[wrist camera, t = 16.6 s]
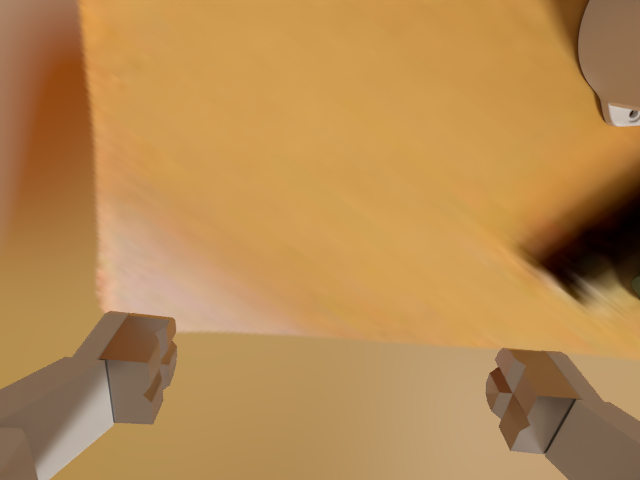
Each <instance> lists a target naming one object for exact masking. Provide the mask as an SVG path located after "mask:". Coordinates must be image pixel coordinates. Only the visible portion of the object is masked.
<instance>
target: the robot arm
mask: <svg viewBox="0 0 640 480" xmlns="http://www.w3.org/2000/svg"><path fill="white" fill-rule="evenodd" d="M578 54H579V61H580V66H581V69H582V72H583V74H584V76H585V78H586V80H587V82H588V83H589V85H590V86H591V87H592V88H593V89H594V91H595V92H596V93H597V95H598V96H599V98H600V100H601V106H602V112H603V116H604V119H605V121H606V123H607V124H608V125H611V126H618V127H623V126H636V125H640V0H589V3H588V5H587V7H586V10H585V12H584V15H583V18H582V22H581V26H580V31H579V39H578ZM632 110H633V114H632V115H631V116H630V117H629V114H630V112H631V111H632ZM175 333H176V323H175V320H174V318H171V317H162V316H154V315H145V314H136V313H125V312H115V311H110V312H107V313H106V314H104V316H103V317H102V318H101V320H100V321H99V322H98V324H97V325H96V326H95V328H94V329H93V330H92V332H91V333H90V334H89V335H88V337H87V338H86V339H85V341H84V342H83V344H82V345H81V346H80V347H79V349H78V350H77V351H76V353H75V354H74V355H73V357H71V358H70V357H64V358H62V359H60V360H58V361H56V362H54V363H52V364H50V365H48V366H46V367H44V368H42V369H40V370H38V371H36V372H34V373H32V374H30V375H28V376H27V377H24V378H22V379H21V380H18V381H17V382H15V383H13V384H11V385H9V386H7V387H5V388H3V389H1V390H0V480H49V479H50V478H51V477H52V476H54V475H55V474H56V473H57V472H58V471H60V470H61V469H62V468H63V467H64V466H66V465H67V464H68V463H69V462H70V461H71V460H73V459H74V458H75V457H76V456H77V455H79V454H80V453H81V452H82V451H83V450H85V449H86V448H87V447H88V446H89V445H90V444H92V443H93V442H94V441H95V440H96V439H98V438H99V437H100V436H101V435H102V434H104V432H106V431H107V430H108V429H109V428H111V427H112V426H113V425H114V423H133V424H135V423H136V424H153V423H154V421H155V419H156V416H157V414H158V411H159V409H160V407H161V404H162V402H163V390H164V389H165V388H166V387H168V386H169V385H170V383H171V380H172V378H173V375H174V370H175V366H176V358H177V346H176V345H175V343H174V342H173V341H172V340H173V337H174V335H175ZM495 361H496V363H497V365H498V367H497V368H496V369H495V370H493V371H492V372H491V373H490V374H489V377H488V379H487V382H486V397H487V402H488V404H489V406H490V409H491V411H492V412H493V413H494V414H496V415H497V416H498V417H499V418H500V419H501V422H500V425H499V428H500V430H501V432H502V434H503V436H504V438H505V440H506V442H507V445H508V447H509V449H510V451H517V452H528V453H537V454H546V455H545V457H546V458H547V459H548V460H549V461H550V462H551V463H552V464H553V465H554V466H555V467H556V468H557V469H558V470H559V471H561V473H563V475H565V476H566V477H567V478H568V479H569V480H640V421H638V420H637V419H635V418H634V417H632V416H631V415H629V414H627V413H626V412H624V411H623V410H621V409H620V408H618V407H616V406H615V405H613V404H612V403H610V402H604V401H603V400H602V399H601V398H600V396H599V395H598V394H597V393H596V391H595V390H594V389H593V387H592V386H591V385H590V384H589V382H588V381H587V380H586V379H585V378H584V376H583V375H582V374H581V372H580V371H579V370H578V369H577V367H576V366H575V365H574V364H573V363H572V361H571V360H570V359H569V357H568V356H567V355H565V354H564V353H562V352H555V351H534V350H522V349H510V348H502V349H501V350H500V351H499V352H498V354H497V357H496V359H495Z"/></svg>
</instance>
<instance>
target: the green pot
mask: <svg viewBox="0 0 640 480" xmlns="http://www.w3.org/2000/svg"><path fill="white" fill-rule="evenodd" d="M631 286H632V288H633V290H634V291H635V292H637V293H638V295H639V298H640V274H639V276H637V277H635V278H634V279H633V280H632V282H631Z"/></svg>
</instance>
